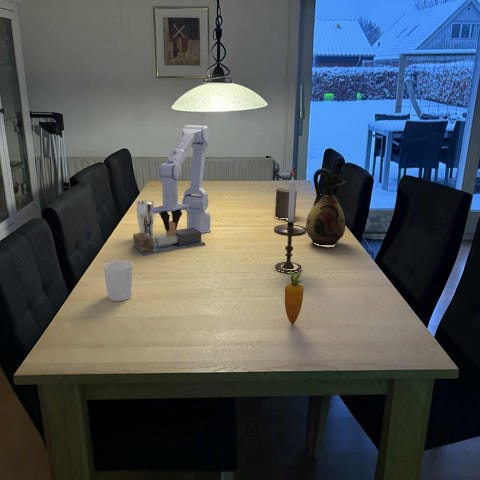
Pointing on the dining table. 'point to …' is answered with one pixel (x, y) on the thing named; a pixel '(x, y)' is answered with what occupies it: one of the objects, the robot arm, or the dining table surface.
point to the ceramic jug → (326, 212)
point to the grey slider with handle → (167, 236)
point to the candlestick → (290, 230)
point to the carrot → (293, 298)
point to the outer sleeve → (185, 239)
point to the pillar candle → (283, 202)
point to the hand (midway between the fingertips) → (170, 229)
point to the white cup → (118, 280)
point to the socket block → (143, 242)
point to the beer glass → (145, 217)
